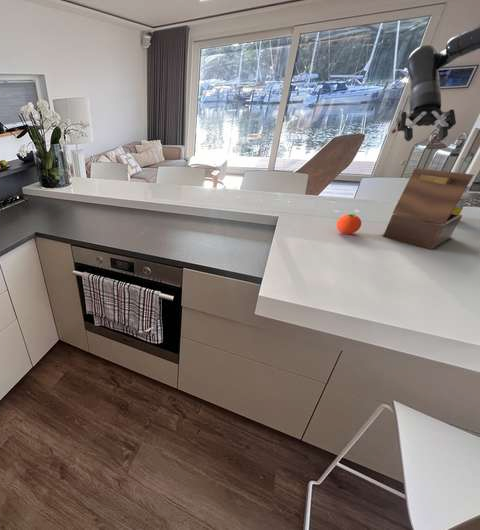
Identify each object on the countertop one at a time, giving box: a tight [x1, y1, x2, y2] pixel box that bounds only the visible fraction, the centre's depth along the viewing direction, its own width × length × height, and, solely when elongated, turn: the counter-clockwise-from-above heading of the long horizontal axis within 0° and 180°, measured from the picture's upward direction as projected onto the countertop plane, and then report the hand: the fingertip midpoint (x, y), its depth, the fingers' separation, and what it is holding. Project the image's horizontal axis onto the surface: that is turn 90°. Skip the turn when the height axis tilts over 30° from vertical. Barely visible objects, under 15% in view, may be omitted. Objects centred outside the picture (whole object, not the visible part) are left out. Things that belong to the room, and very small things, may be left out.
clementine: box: [336, 213, 362, 235], centre depth 102 cm, size 8×7×7 cm
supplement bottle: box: [452, 183, 471, 215], centre depth 103 cm, size 7×7×13 cm
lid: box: [392, 167, 475, 225], centre depth 86 cm, size 14×13×5 cm
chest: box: [383, 213, 463, 250], centre depth 95 cm, size 14×13×8 cm
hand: (425, 139), depth 96 cm, fingers open, 8 cm apart
